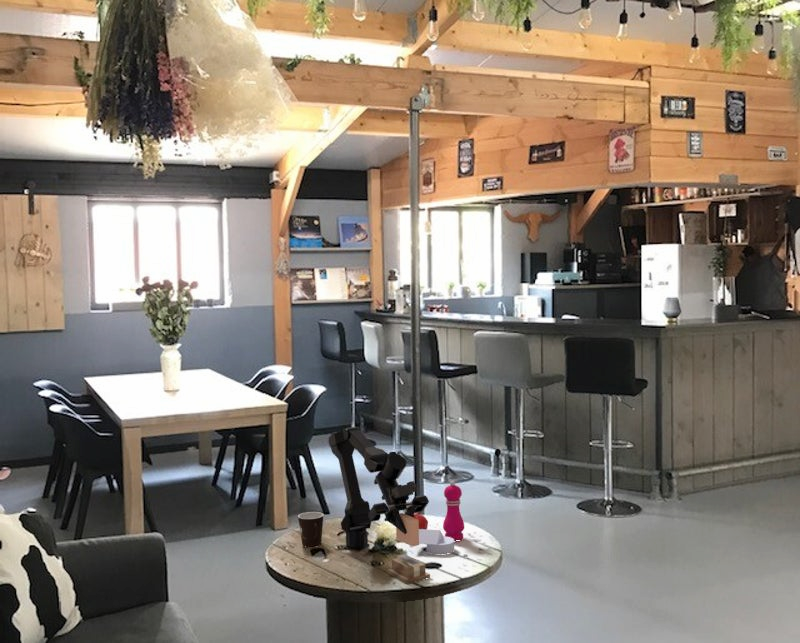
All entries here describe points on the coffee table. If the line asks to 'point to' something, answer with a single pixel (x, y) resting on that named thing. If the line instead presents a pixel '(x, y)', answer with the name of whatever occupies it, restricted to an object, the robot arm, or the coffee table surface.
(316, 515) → the coffee mug
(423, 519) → the pomegranate
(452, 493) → the pepper mill
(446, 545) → the wedge on round base
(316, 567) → the coffee table surface
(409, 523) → the peach rectangular panel
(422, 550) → the coffee table surface
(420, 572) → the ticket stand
